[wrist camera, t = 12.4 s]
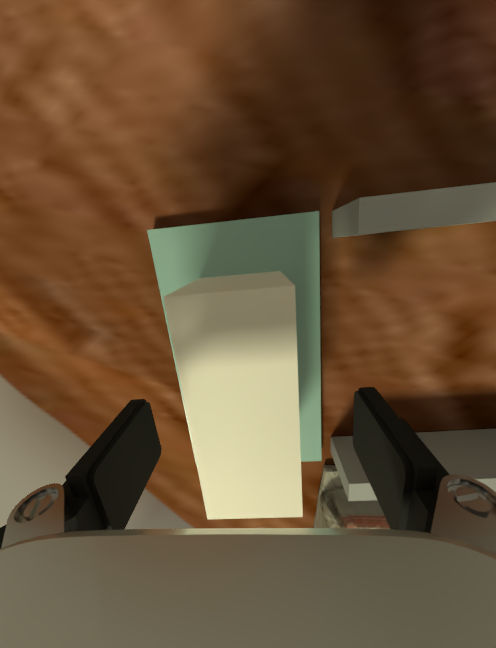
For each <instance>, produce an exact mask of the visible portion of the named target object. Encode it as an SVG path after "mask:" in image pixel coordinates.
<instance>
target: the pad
mask: <svg viewBox="0 0 496 648" xmlns="http://www.w3.org/2000/svg"><path fill="white" fill-rule="evenodd" d="M147 232H148V236H149V241H150V246H151V251H152V256H153V260H154V265H155V270H156V275H157V279H158V284H159V289H160V294H161V299H162V303H163V308H164V313H165V318H166V323H167V327H168V332H169V337H170V342H171V346H172V351H173V356H174V361H175V366H176V370H177V375H178V380H179V385H180V389H181V394H182V399H183V404H184V409H185V413H186V408H185V403H184V398H183V393H182V388H181V383H180V378H179V373H178V368H177V363H176V358H175V353H174V348H173V343H172V338H171V333H170V328H169V323H168V318H167V313H166V308H165V303H164V298H163V297H164V296H166V295H168V294H170V293H172V292H174V291H176V290H178V289H180V288H181V287H183V286H185V285H187V284H189V283H191V282H193V281H195V280H197V279H199V278H206V277H218V276H229V275H240V274H251V273H262V272H273V271H281V272H282V273H283V274H284V275H285V276H286V277H287V278H288V279H289V280H290V281H291V282H292V283H293V284H294V285H295V300H296V330H297V360H298V390H299V421H300V451H301V462H303V461H321V360H320V248H319V211H315V212H306V213H297V214H288V215H279V216H270V217H261V218H252V219H243V220H234V221H225V222H216V223H207V224H198V225H189V226H180V227H171V228H162V229H153V230H147ZM186 418H187V413H186ZM187 423H188V418H187ZM188 428H189V423H188ZM189 433H190V428H189ZM190 437H191V433H190ZM191 442H192V438H191ZM192 447H193V443H192ZM193 452H194V448H193ZM194 456H195V453H194ZM195 461H196V458H195ZM196 466H197V463H196Z"/></svg>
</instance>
